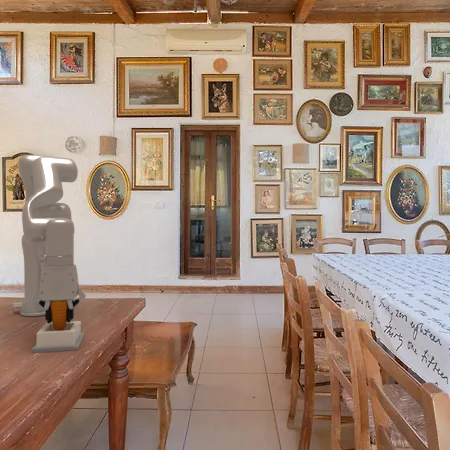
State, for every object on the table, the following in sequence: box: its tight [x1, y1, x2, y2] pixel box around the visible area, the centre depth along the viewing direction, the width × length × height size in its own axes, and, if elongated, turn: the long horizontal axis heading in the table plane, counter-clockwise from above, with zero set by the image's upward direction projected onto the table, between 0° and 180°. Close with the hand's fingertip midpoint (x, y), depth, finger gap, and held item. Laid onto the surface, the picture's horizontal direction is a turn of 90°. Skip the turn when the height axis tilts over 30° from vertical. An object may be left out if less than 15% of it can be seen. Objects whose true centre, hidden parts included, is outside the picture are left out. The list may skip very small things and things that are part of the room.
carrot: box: [50, 300, 69, 331], centre depth 107 cm, size 5×5×15 cm
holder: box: [31, 320, 85, 354], centre depth 107 cm, size 12×12×5 cm
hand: (59, 321), depth 107 cm, fingers closed on carrot, 4 cm apart
